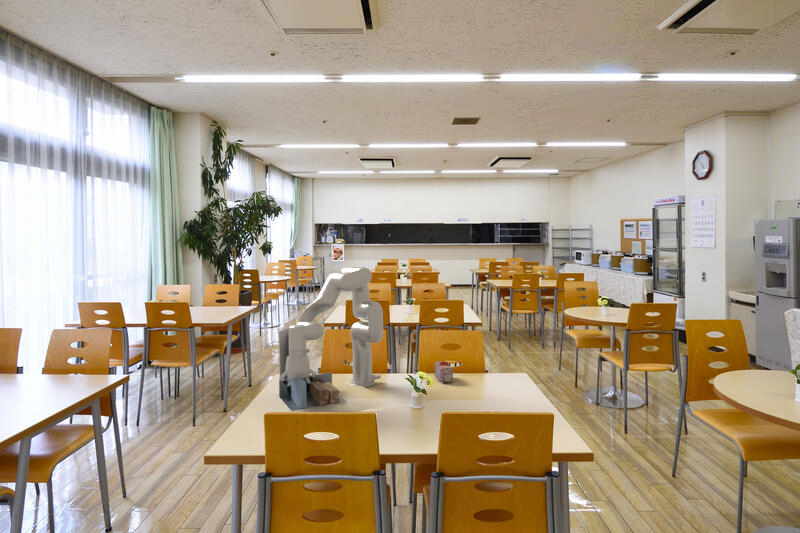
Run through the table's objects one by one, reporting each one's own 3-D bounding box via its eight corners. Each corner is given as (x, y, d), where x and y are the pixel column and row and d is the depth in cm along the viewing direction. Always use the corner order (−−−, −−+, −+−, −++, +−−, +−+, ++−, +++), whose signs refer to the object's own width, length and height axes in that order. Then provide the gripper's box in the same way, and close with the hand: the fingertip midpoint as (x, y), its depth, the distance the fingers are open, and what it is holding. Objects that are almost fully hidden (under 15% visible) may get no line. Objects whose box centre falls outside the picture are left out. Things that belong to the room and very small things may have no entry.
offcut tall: (318, 394, 220) (318, 381, 220) (328, 403, 208) (328, 389, 208) (310, 395, 218) (310, 382, 218) (319, 404, 206) (319, 390, 206)
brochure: (291, 395, 222) (289, 331, 221) (280, 394, 223) (278, 331, 222) (303, 386, 236) (302, 326, 235) (292, 385, 237) (291, 326, 236)
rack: (331, 390, 229) (331, 372, 228) (347, 403, 210) (347, 383, 210) (279, 398, 217) (278, 379, 217) (291, 413, 198) (291, 391, 198)
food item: (455, 383, 240) (455, 364, 240) (440, 384, 238) (440, 365, 238) (446, 376, 253) (446, 358, 253) (432, 377, 252) (432, 358, 251)
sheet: (296, 397, 216) (295, 373, 216) (306, 407, 202) (306, 382, 202) (290, 397, 215) (290, 373, 215) (300, 408, 201) (300, 382, 201)
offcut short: (328, 392, 223) (328, 382, 222) (339, 401, 210) (339, 390, 210) (320, 393, 221) (320, 383, 221) (330, 402, 208) (330, 391, 208)
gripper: (314, 349, 215) (314, 388, 216) (275, 353, 207) (276, 393, 208) (319, 352, 209) (320, 392, 209) (279, 357, 200) (280, 398, 201)
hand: (298, 392), depth 209 cm, fingers open, 7 cm apart
